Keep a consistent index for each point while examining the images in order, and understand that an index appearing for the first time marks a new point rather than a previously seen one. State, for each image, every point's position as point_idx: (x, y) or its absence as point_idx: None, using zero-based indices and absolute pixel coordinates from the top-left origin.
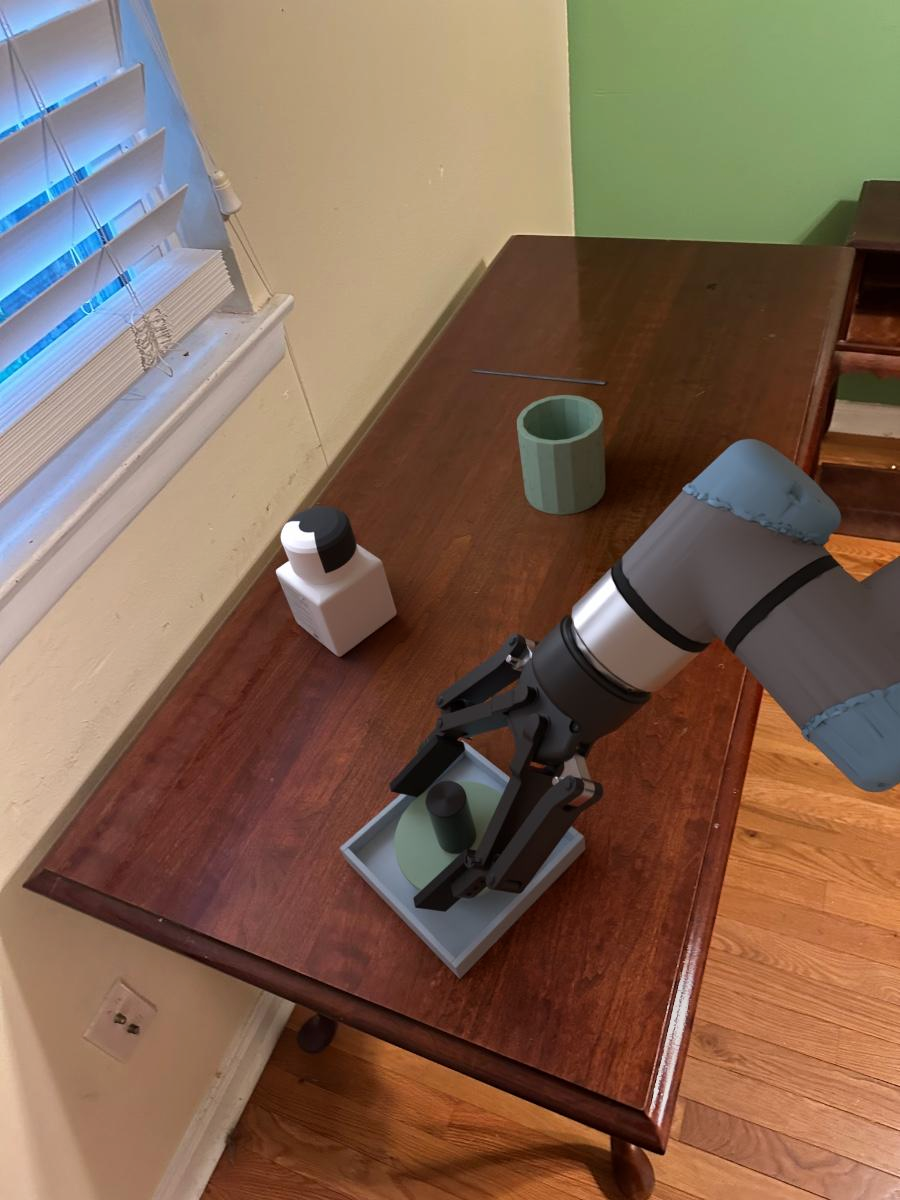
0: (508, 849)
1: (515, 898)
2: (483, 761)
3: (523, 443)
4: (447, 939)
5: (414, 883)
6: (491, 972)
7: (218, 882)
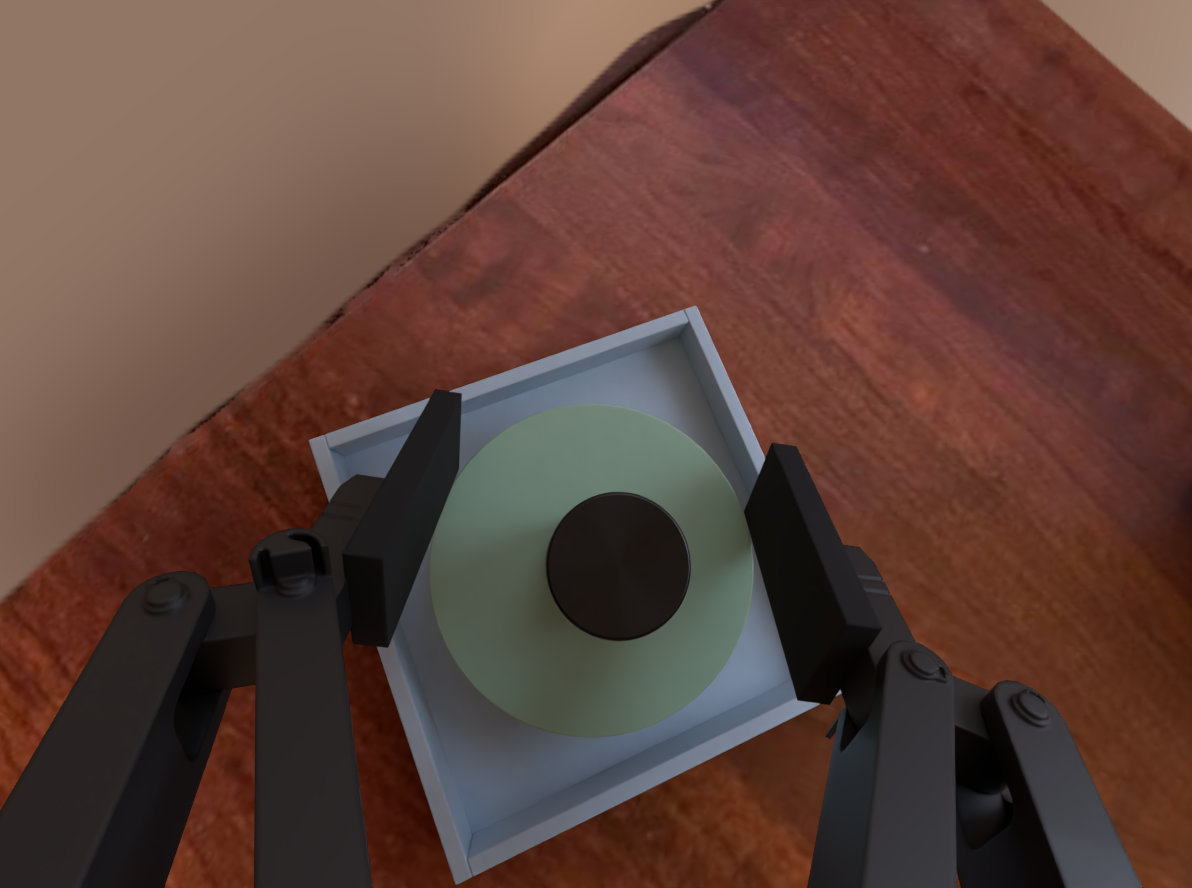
0: (122, 733)
1: None
2: (781, 710)
3: None
4: None
5: (524, 421)
6: (311, 516)
7: (738, 105)
